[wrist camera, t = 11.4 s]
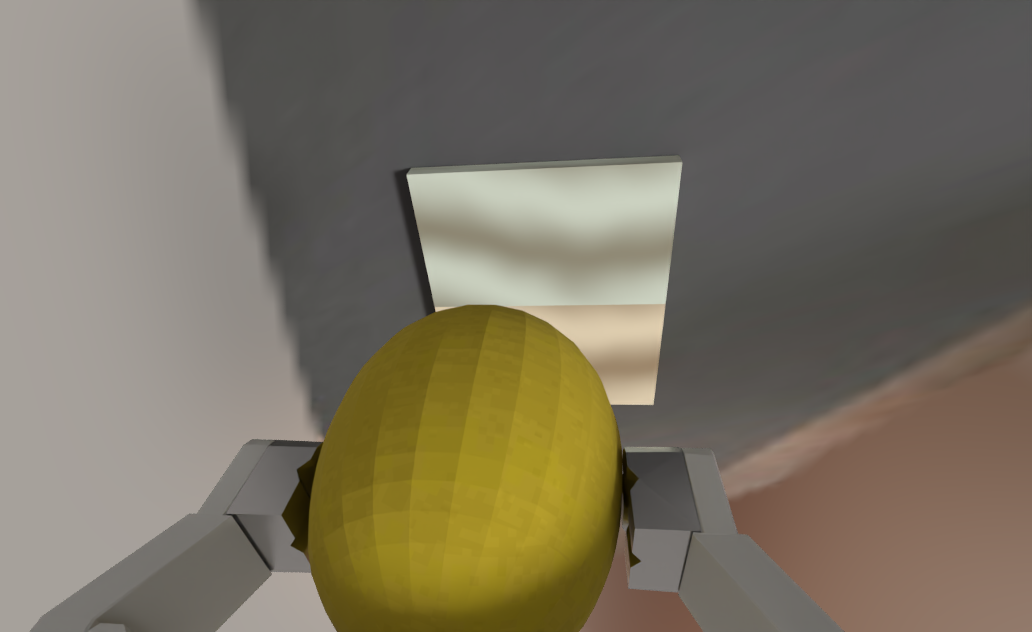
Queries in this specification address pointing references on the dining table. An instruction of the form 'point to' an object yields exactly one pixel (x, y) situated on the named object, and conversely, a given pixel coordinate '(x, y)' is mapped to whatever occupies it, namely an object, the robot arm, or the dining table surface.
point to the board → (560, 252)
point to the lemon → (468, 482)
